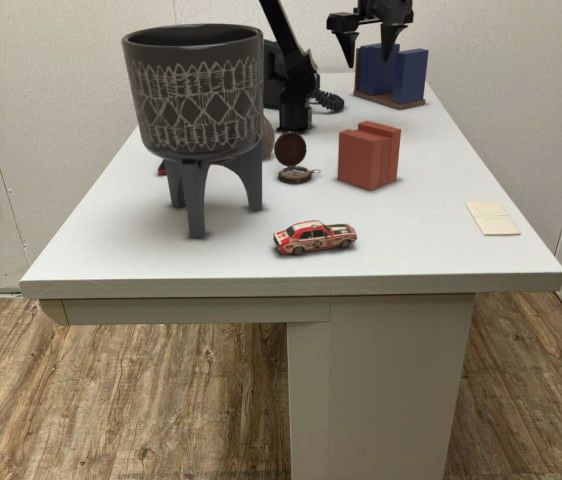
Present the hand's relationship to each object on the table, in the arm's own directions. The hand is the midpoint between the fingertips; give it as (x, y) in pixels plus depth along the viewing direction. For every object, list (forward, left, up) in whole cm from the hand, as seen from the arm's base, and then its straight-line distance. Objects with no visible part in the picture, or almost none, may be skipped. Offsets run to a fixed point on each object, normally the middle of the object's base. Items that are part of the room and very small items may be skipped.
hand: (368, 65), depth 128 cm
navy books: (-5, +29, -12) cm, 32 cm away
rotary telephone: (-25, +19, -13) cm, 34 cm away
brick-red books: (+9, -31, -13) cm, 35 cm away
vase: (-15, -25, -13) cm, 32 cm away
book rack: (-2, +27, -13) cm, 30 cm away
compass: (-3, -33, -13) cm, 36 cm away
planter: (-10, -55, -13) cm, 57 cm away
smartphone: (-28, -33, -13) cm, 45 cm away
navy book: (+4, +22, -12) cm, 26 cm away
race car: (+10, -60, -13) cm, 62 cm away
